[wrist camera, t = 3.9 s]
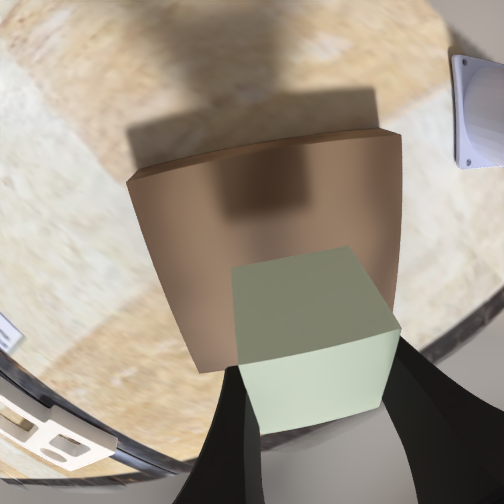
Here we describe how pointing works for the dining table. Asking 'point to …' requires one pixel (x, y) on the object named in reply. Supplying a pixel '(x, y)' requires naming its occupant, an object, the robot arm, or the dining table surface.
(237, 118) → the dining table surface
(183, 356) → the dining table surface
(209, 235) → the walnut base
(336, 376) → the sage block
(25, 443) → the holder
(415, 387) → the robot arm
